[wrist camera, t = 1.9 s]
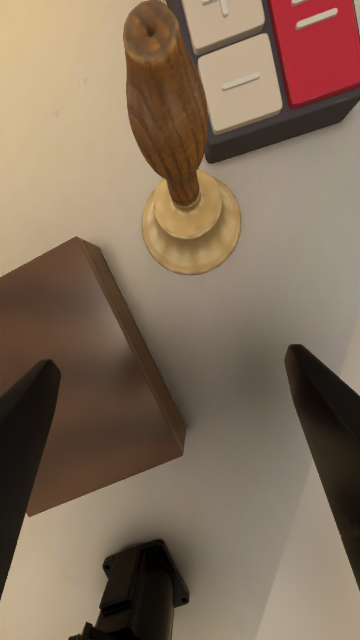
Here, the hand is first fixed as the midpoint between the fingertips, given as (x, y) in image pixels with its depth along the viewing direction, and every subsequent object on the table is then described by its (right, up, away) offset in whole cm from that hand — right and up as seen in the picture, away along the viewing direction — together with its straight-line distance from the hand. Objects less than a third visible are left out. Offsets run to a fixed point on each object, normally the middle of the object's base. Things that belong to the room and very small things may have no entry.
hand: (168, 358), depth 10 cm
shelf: (-9, -3, +14) cm, 17 cm away
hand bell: (+1, +10, +12) cm, 15 cm away
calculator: (+6, +23, +10) cm, 26 cm away
